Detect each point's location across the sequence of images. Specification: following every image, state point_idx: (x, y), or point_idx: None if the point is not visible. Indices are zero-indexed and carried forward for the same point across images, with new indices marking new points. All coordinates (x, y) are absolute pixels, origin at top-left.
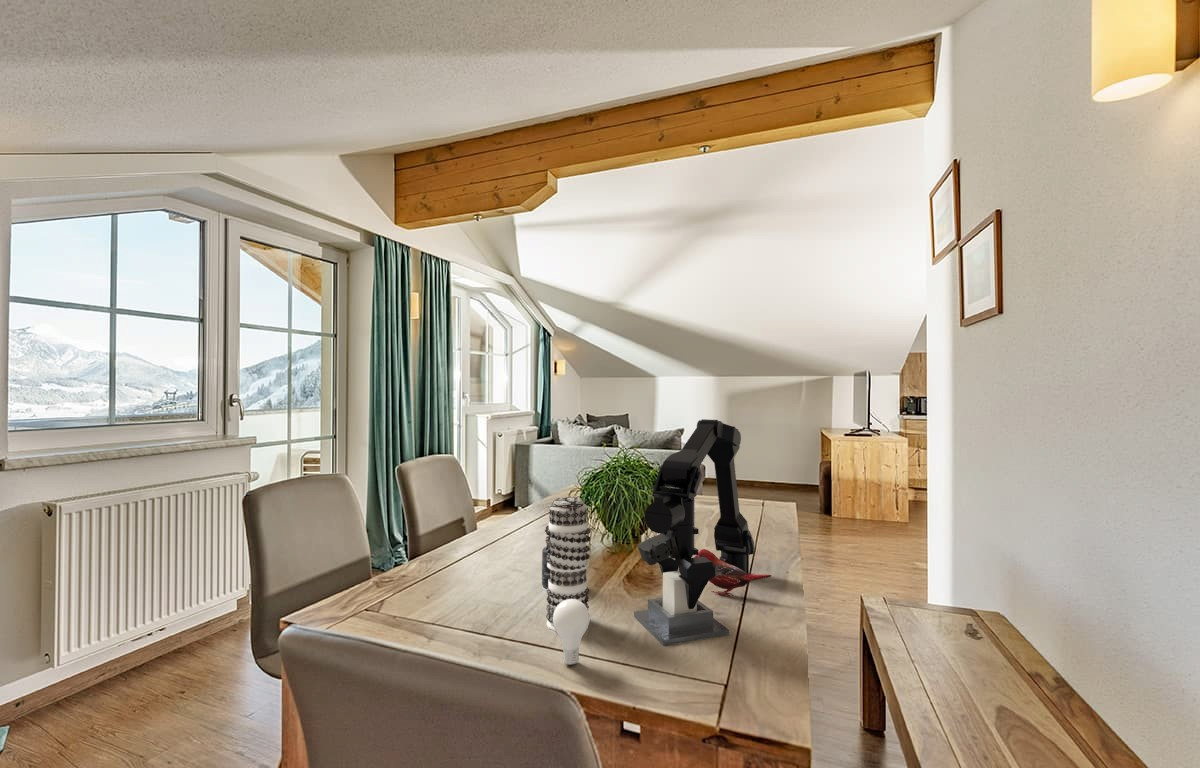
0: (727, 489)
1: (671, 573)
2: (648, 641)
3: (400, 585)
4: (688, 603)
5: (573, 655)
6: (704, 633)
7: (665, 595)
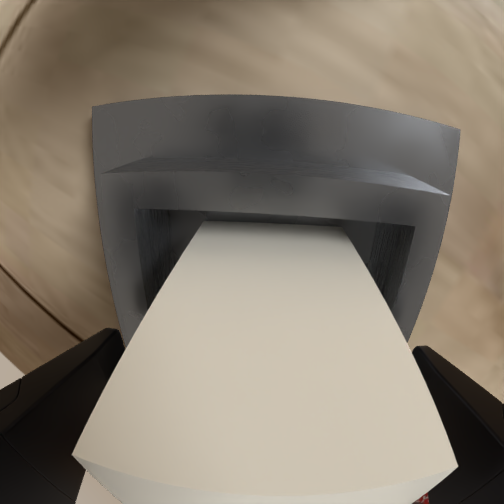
0: None
1: None
2: (164, 56)
3: None
4: (82, 344)
5: None
6: (115, 303)
7: (335, 300)
